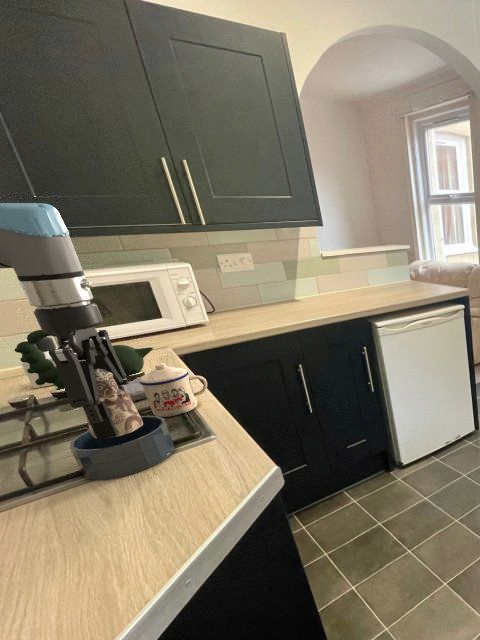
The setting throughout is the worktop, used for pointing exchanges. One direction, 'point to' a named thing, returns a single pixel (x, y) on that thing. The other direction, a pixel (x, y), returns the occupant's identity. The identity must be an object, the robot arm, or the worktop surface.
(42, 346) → the container
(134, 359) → the toy figurine
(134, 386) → the stone block
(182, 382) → the teacup with lid
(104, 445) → the blue oval tub
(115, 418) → the figurine
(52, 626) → the worktop surface
